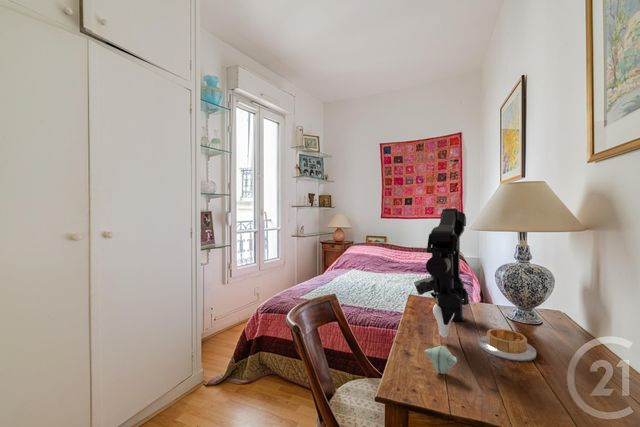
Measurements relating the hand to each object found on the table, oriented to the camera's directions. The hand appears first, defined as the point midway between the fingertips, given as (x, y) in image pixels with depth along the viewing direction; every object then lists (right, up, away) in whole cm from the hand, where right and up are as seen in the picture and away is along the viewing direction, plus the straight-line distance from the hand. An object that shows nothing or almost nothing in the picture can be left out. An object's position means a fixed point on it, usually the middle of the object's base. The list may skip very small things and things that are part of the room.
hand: (443, 320), depth 89 cm
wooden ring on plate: (+16, -7, -5) cm, 18 cm away
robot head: (-8, -7, -17) cm, 20 cm away
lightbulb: (0, -5, 0) cm, 5 cm away
